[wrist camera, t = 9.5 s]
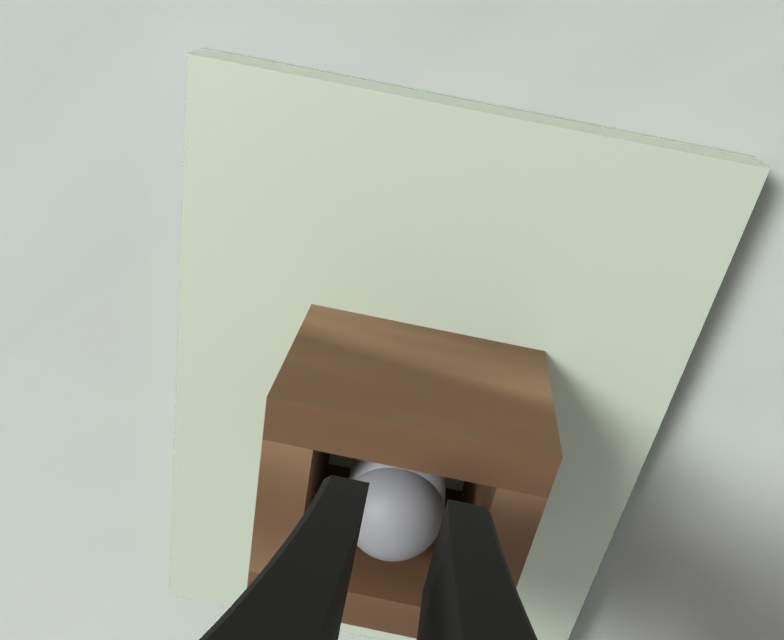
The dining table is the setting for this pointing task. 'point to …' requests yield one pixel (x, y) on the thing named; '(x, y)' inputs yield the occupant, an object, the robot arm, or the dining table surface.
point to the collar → (405, 440)
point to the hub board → (433, 292)
